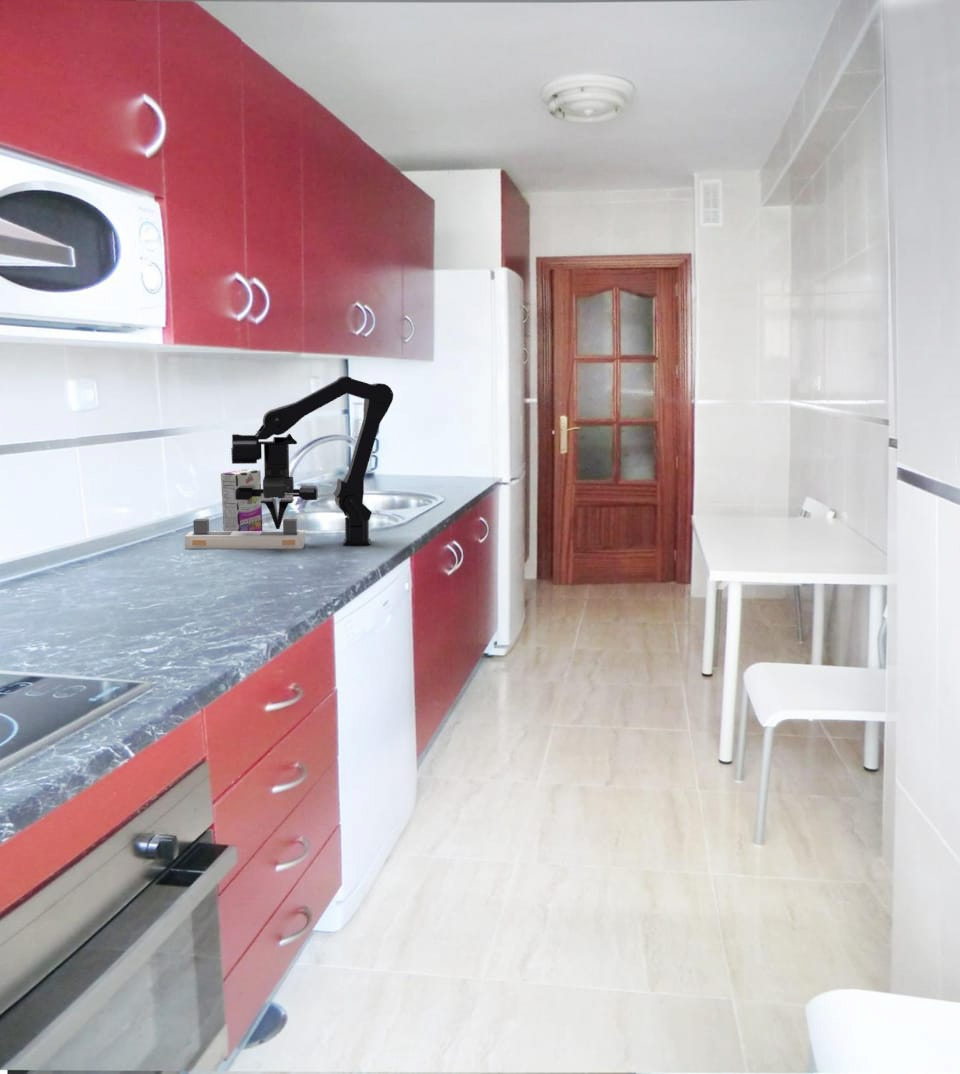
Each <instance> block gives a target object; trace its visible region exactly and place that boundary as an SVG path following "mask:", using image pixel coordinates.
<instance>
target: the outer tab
mask: <svg viewBox="0 0 960 1074" xmlns="http://www.w3.org/2000/svg"><path fill="white" fill-rule="evenodd" d="M193 531H194V533H208V532H209V531H210V519H209V518H195V519H194V520H193Z"/></svg>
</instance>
